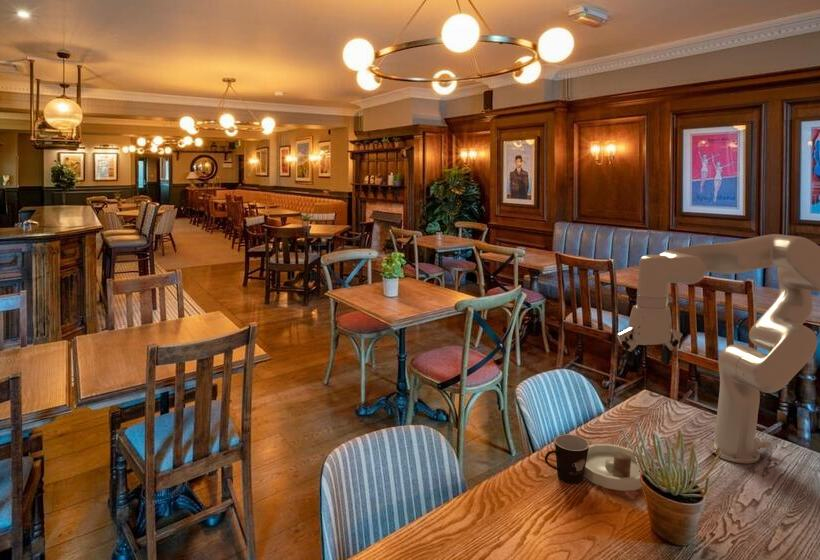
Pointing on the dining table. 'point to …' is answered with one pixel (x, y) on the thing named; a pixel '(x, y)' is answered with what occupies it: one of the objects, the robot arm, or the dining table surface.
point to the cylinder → (621, 465)
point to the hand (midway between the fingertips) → (647, 363)
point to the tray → (610, 467)
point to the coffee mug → (570, 457)
